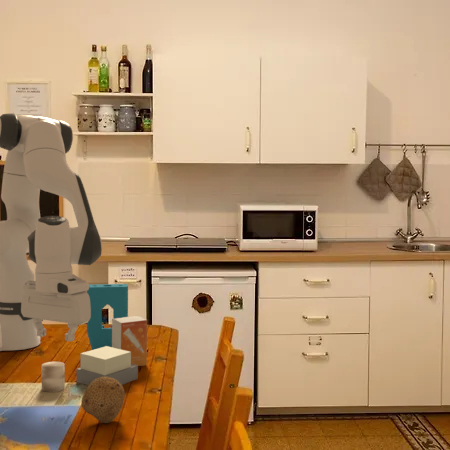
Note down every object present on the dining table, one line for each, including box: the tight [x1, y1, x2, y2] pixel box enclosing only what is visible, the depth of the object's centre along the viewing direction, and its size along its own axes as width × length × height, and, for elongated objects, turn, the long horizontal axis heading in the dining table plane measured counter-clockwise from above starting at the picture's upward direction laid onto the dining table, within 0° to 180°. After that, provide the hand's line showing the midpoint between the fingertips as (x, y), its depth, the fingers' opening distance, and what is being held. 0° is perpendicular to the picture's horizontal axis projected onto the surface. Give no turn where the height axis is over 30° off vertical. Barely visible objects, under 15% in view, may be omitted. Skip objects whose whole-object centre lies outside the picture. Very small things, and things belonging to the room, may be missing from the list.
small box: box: [111, 315, 148, 367], centre depth 178 cm, size 8×6×13 cm
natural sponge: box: [81, 377, 126, 424], centre depth 136 cm, size 9×9×10 cm
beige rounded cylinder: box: [41, 361, 66, 393], centre depth 157 cm, size 6×6×6 cm
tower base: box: [76, 364, 139, 386], centre depth 164 cm, size 11×11×4 cm
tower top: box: [80, 346, 131, 375], centre depth 163 cm, size 9×9×4 cm
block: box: [86, 283, 129, 350], centre depth 191 cm, size 12×5×20 cm, turn 101°
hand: (55, 338), depth 157 cm, fingers open, 8 cm apart
